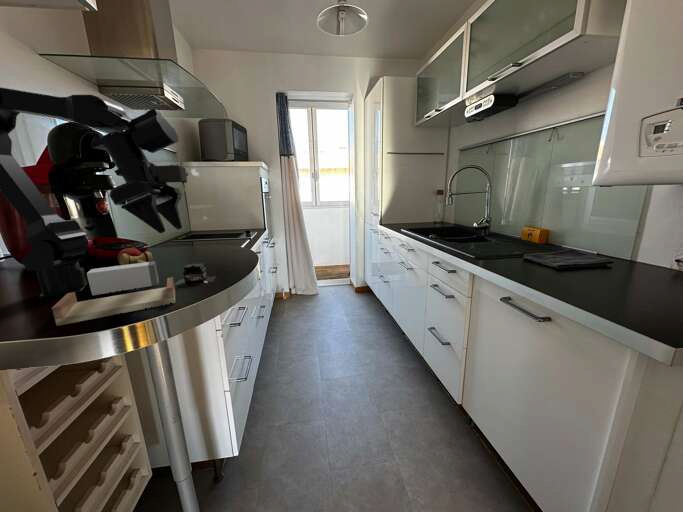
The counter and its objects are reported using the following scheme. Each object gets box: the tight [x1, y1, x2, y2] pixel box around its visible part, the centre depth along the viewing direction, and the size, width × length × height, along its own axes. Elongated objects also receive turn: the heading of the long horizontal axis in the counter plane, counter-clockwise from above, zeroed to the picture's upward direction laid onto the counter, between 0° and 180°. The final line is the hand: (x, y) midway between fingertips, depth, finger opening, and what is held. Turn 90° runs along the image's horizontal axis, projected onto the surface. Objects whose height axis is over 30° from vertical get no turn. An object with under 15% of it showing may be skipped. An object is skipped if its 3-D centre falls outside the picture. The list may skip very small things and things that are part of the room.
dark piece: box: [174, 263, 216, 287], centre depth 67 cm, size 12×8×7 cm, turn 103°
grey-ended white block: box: [86, 260, 160, 296], centre depth 63 cm, size 12×4×5 cm, turn 121°
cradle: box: [51, 276, 176, 327], centre depth 53 cm, size 17×8×3 cm, turn 121°
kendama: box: [117, 247, 159, 273], centre depth 78 cm, size 8×6×18 cm
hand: (172, 230), depth 61 cm, fingers open, 9 cm apart
